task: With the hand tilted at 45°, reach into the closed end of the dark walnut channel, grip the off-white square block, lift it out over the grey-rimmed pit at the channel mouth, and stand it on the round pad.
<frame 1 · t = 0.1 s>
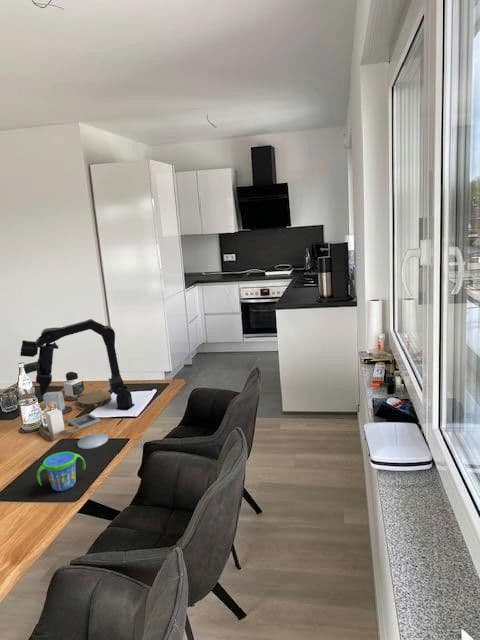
hand: (42, 391, 215), 15 cm above the table, tool pointing down, fingers open, 9 cm apart
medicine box: (55, 410, 234), on the table
snack cup: (64, 486, 165), on the table
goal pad: (93, 441, 197), on the table
white block: (55, 422, 207), in the walnut channel
medicine bottle: (75, 394, 254), on the table
trap pit: (84, 423, 216), on the table
walnut channel: (57, 433, 208), on the table
brown round slab: (95, 402, 241), on the table
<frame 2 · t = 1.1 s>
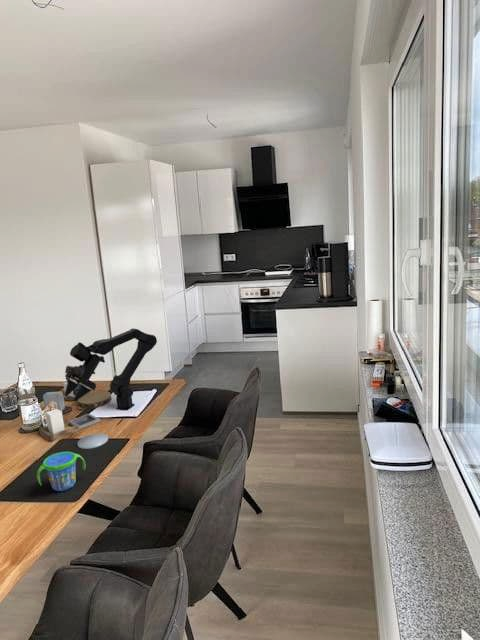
hand: (70, 398, 210), 13 cm above the table, tool tilted 45°, fingers open, 9 cm apart
nothing on the table moved.
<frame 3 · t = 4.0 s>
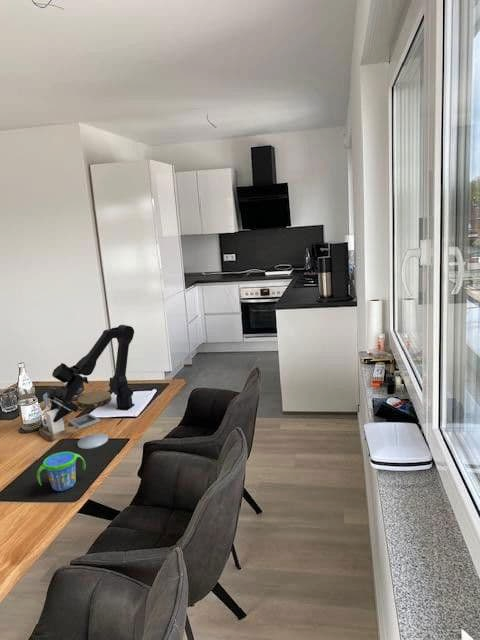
hand: (51, 420, 205), 7 cm above the table, tool tilted 45°, fingers closed on white block, 5 cm apart
white block: (55, 422, 207), in the walnut channel, touching gripper
everything else where it was.
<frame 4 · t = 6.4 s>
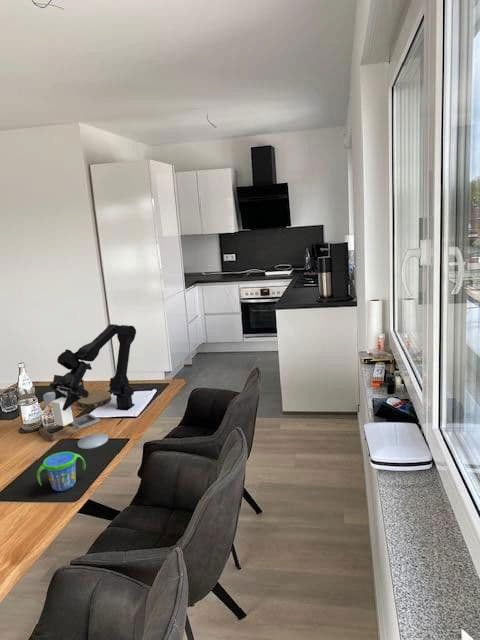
hand: (59, 409, 198), 13 cm above the table, tool tilted 45°, fingers closed on white block, 5 cm apart
white block: (62, 411, 200), point 12 cm above the table, touching gripper
everything else where it was.
when the fingers open (8 cm above the table, at t = 9.0 s): white block stays where it is, resting on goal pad.
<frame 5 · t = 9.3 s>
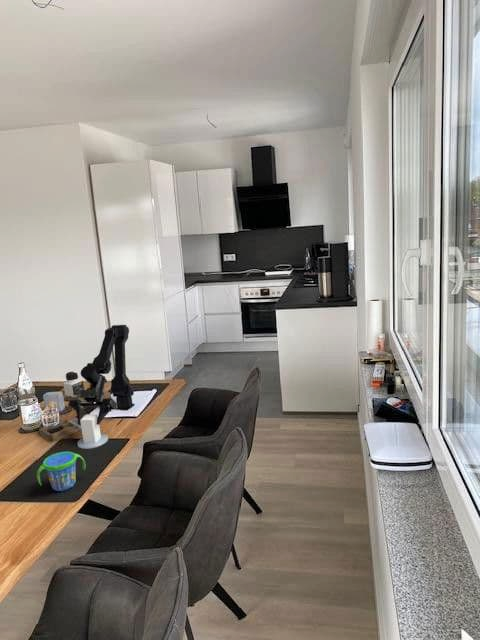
hand: (88, 424, 194), 8 cm above the table, tool tilted 45°, fingers open, 8 cm apart
white block: (90, 428, 196), on the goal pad, point 6 cm above the table
everything else where it was.
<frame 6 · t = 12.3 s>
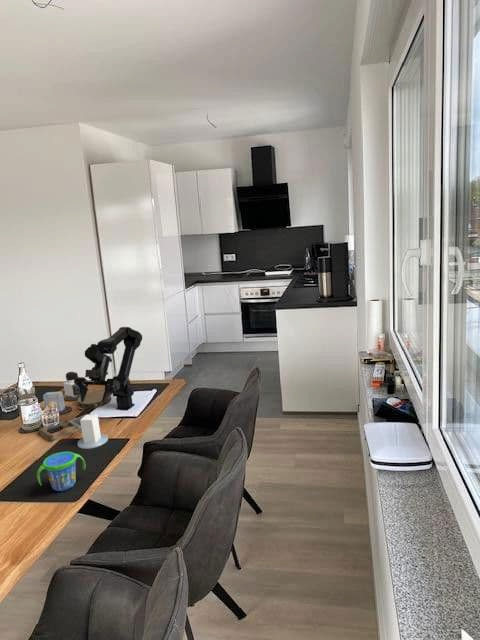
hand: (92, 402, 203), 13 cm above the table, tool tilted 40°, fingers open, 9 cm apart
nothing on the table moved.
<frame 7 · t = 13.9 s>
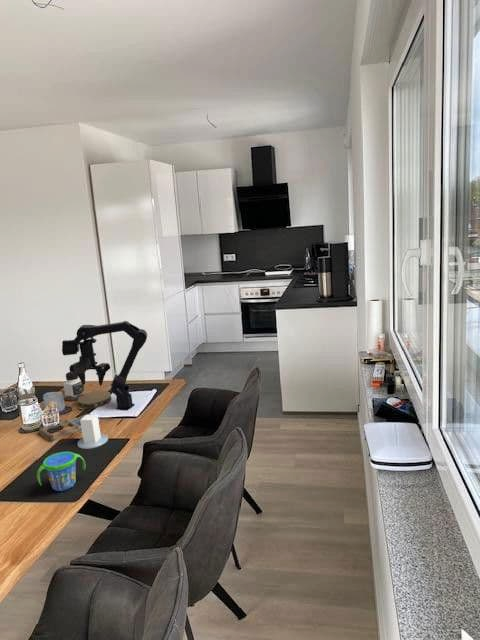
hand: (92, 385, 226), 13 cm above the table, tool pointing down, fingers open, 9 cm apart
nothing on the table moved.
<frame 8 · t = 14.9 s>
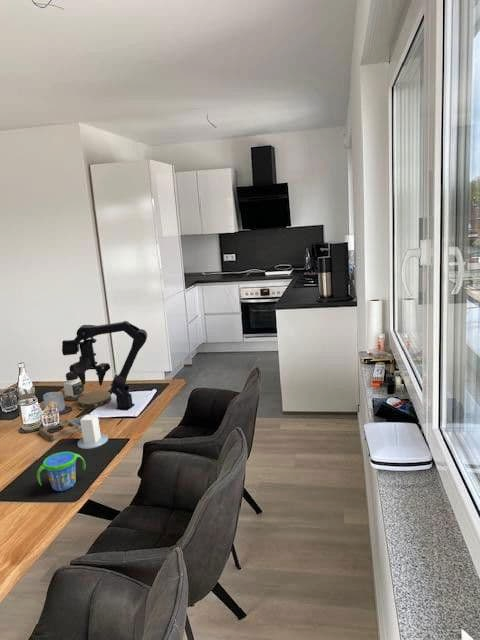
hand: (92, 385, 226), 13 cm above the table, tool pointing down, fingers open, 9 cm apart
nothing on the table moved.
at the end: white block 0.0 cm off-centre on the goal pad, point 5.6 cm above the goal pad's base; white block tilted 0°; the gripper is holding nothing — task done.
